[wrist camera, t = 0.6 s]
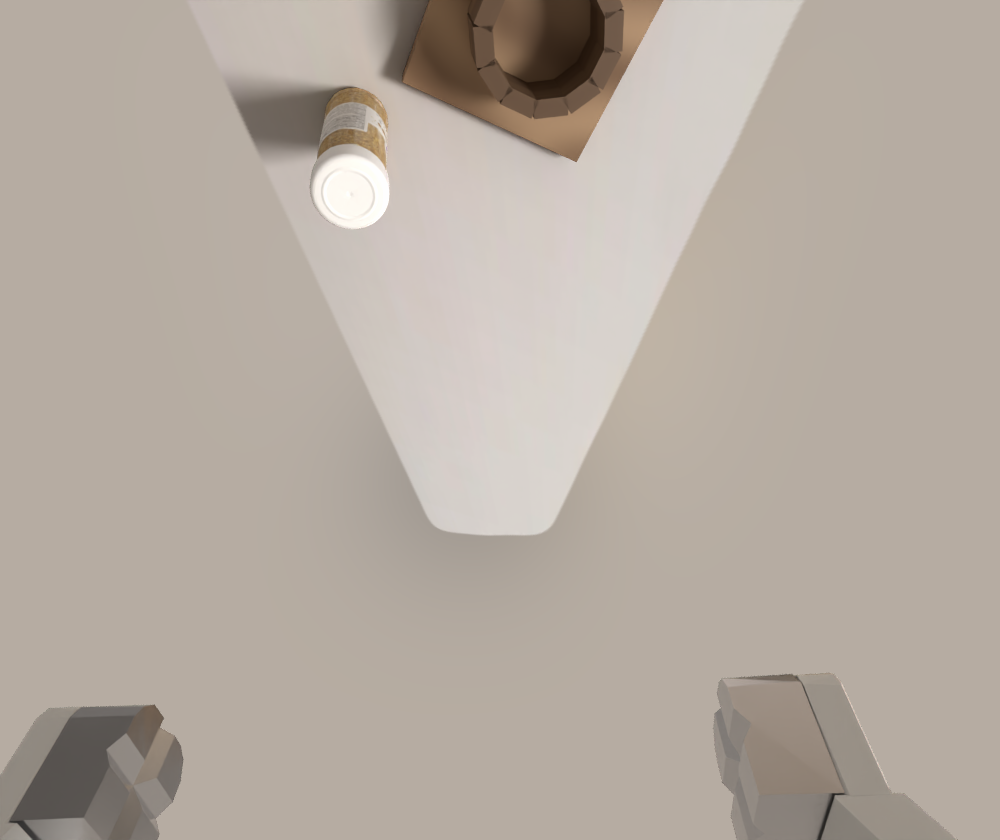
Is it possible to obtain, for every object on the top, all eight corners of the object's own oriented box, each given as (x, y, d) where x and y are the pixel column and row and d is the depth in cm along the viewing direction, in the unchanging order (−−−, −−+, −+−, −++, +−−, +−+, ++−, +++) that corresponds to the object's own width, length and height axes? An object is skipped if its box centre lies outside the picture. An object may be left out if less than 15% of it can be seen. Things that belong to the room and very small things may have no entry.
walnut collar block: (486, -158, 41) (497, -154, 37) (675, -40, 46) (703, -25, 42) (401, 76, 49) (403, 100, 45) (572, 154, 54) (588, 182, 50)
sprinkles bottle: (391, 148, 52) (393, 229, 42) (329, 151, 52) (316, 234, 42) (384, 83, 49) (385, 153, 39) (318, 85, 49) (302, 157, 39)
